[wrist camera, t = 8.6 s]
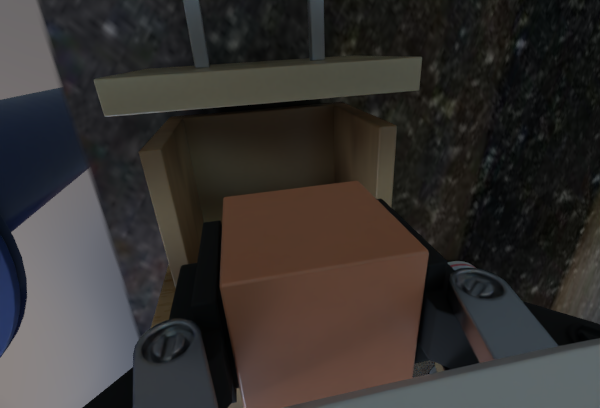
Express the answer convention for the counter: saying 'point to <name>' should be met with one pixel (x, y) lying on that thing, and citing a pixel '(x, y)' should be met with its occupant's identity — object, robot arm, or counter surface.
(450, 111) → the counter surface
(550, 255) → the counter surface
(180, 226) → the drawer
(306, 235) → the block
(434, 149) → the counter surface
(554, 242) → the counter surface
